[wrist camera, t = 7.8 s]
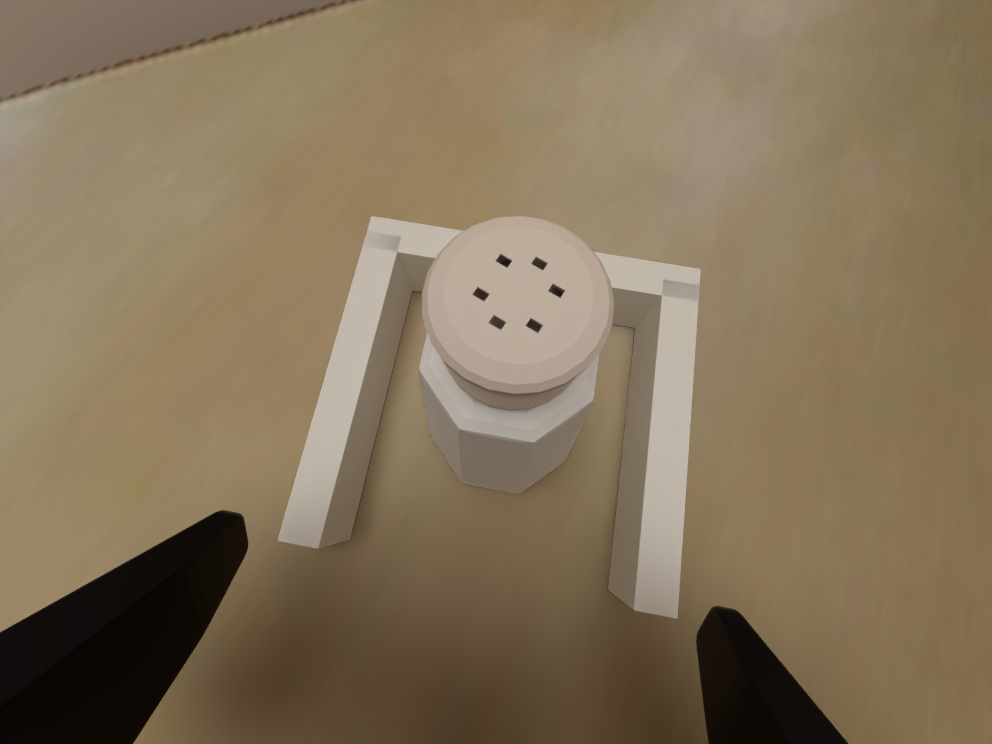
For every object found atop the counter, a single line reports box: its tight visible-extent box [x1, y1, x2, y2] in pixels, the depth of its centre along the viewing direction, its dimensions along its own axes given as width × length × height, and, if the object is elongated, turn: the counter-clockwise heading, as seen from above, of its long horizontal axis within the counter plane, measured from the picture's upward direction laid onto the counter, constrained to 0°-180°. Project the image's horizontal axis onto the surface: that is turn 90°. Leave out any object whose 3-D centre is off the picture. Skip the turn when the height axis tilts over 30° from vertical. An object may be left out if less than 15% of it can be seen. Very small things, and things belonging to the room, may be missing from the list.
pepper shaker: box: [419, 216, 614, 494], centre depth 12 cm, size 5×5×11 cm
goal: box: [277, 216, 700, 619], centre depth 16 cm, size 11×11×3 cm
